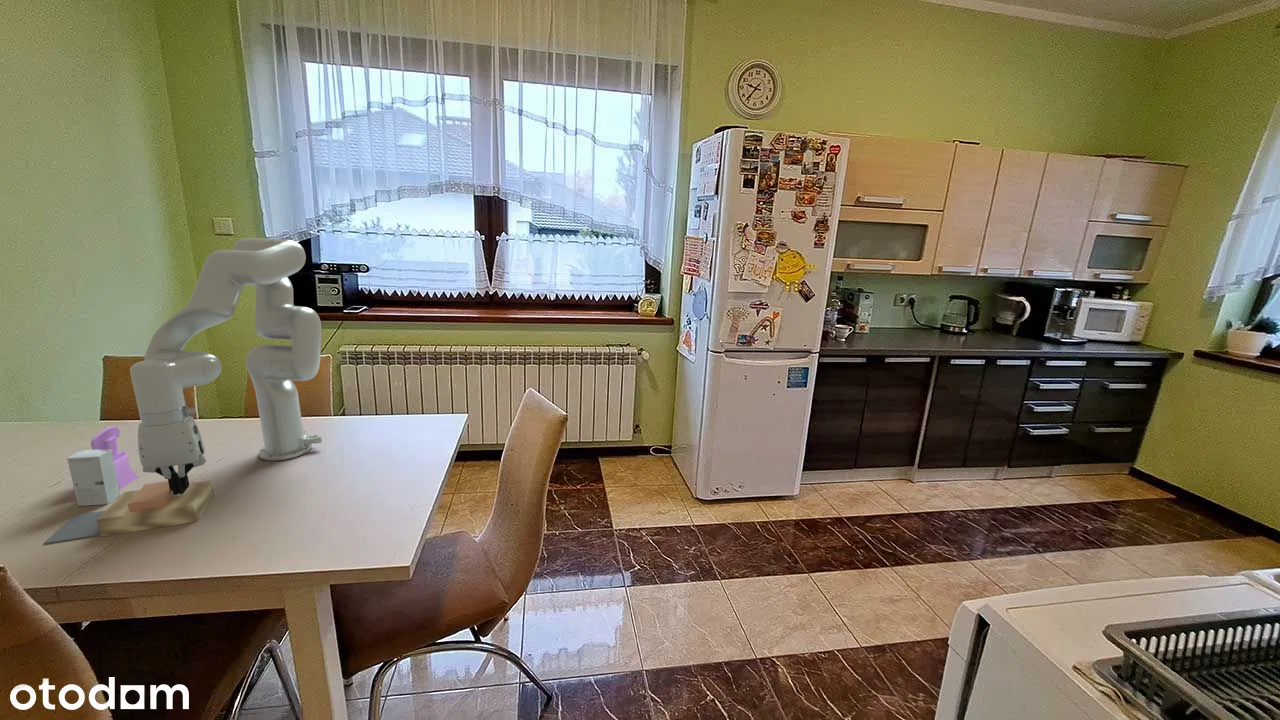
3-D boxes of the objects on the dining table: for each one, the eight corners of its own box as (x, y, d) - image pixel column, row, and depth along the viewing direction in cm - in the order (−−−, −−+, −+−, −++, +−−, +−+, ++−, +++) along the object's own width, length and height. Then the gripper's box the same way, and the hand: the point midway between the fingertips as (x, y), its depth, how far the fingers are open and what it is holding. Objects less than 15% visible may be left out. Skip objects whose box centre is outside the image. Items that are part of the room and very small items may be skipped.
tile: (180, 487, 120) (178, 479, 120) (165, 506, 112) (163, 498, 112) (146, 492, 118) (144, 484, 117) (129, 512, 110) (127, 503, 109)
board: (214, 495, 125) (211, 480, 124) (197, 521, 114) (193, 505, 113) (128, 507, 118) (124, 492, 117) (101, 536, 108) (96, 519, 107)
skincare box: (77, 506, 118) (63, 458, 115) (92, 496, 122) (79, 450, 119) (109, 504, 119) (97, 456, 116) (123, 494, 124) (111, 448, 120)
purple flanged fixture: (101, 477, 131) (87, 422, 127) (141, 475, 133) (128, 421, 129) (73, 493, 123) (57, 436, 119) (116, 491, 125) (102, 434, 121)
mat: (127, 508, 118) (126, 507, 118) (102, 535, 108) (102, 533, 108) (73, 516, 114) (73, 515, 114) (43, 544, 105) (43, 543, 105)
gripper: (212, 406, 118) (226, 478, 123) (126, 414, 112) (144, 489, 117) (202, 417, 112) (216, 493, 116) (110, 426, 106) (129, 506, 110)
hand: (180, 491), depth 117 cm, fingers closed
